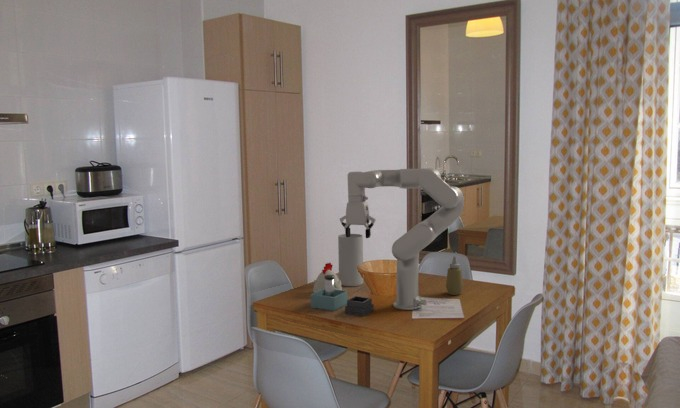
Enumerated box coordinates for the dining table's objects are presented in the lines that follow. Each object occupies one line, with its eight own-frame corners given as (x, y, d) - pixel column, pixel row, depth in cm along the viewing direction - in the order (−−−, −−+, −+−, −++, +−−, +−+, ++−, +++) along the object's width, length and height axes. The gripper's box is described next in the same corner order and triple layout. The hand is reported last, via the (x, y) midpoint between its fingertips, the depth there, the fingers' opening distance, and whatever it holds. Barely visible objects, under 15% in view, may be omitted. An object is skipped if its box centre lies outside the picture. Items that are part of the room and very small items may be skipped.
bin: (347, 304, 251) (347, 291, 251) (334, 311, 241) (334, 297, 240) (324, 300, 257) (324, 288, 256) (310, 307, 247) (310, 294, 246)
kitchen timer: (347, 292, 271) (346, 262, 270) (332, 299, 260) (332, 267, 258) (323, 289, 278) (322, 259, 277) (307, 295, 267) (307, 264, 265)
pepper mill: (330, 302, 252) (330, 274, 251) (337, 304, 249) (337, 275, 247) (322, 304, 249) (321, 275, 248) (328, 306, 246) (328, 277, 244)
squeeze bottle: (444, 295, 264) (444, 257, 262) (447, 290, 271) (447, 254, 269) (461, 296, 261) (461, 258, 259) (464, 292, 268) (464, 255, 266)
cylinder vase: (356, 279, 296) (355, 233, 293) (367, 285, 285) (367, 236, 282) (334, 282, 291) (334, 235, 288) (345, 288, 279) (344, 238, 277)
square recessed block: (373, 310, 241) (373, 298, 241) (364, 316, 233) (364, 303, 233) (355, 307, 245) (354, 295, 245) (345, 313, 238) (345, 300, 237)
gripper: (377, 198, 249) (379, 236, 251) (343, 198, 257) (344, 235, 258) (371, 200, 242) (372, 239, 244) (335, 200, 250) (337, 237, 252)
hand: (358, 237), depth 251 cm, fingers open, 9 cm apart
